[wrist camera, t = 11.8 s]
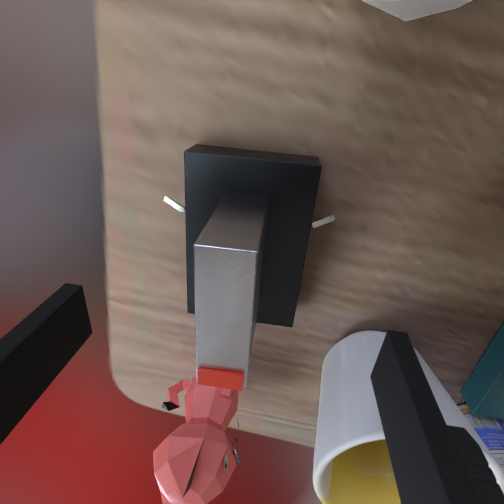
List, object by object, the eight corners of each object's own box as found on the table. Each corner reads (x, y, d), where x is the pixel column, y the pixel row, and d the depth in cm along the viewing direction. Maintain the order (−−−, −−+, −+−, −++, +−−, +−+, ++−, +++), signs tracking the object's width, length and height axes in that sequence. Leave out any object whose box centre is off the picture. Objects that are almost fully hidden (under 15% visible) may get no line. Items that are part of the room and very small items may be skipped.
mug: (321, 296, 25) (339, 420, 16) (452, 319, 25) (549, 460, 15) (289, 407, 31) (288, 540, 22) (392, 426, 31) (434, 570, 22)
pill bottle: (465, 445, 31) (530, 582, 23) (422, 423, 30) (474, 555, 22) (513, 418, 29) (607, 559, 20) (468, 392, 28) (547, 528, 19)
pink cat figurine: (242, 400, 32) (217, 557, 21) (176, 382, 32) (118, 531, 21) (261, 351, 28) (243, 509, 18) (187, 330, 28) (125, 477, 18)
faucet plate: (175, 141, 21) (159, 148, 18) (340, 159, 20) (346, 168, 18) (180, 293, 26) (169, 313, 24) (308, 310, 26) (310, 332, 23)
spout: (227, 189, 19) (191, 247, 12) (270, 194, 19) (257, 254, 12) (223, 297, 23) (194, 386, 16) (259, 301, 23) (245, 394, 16)
